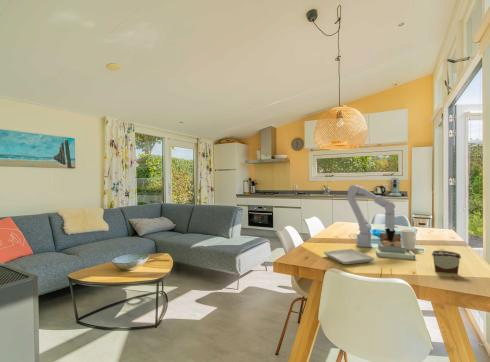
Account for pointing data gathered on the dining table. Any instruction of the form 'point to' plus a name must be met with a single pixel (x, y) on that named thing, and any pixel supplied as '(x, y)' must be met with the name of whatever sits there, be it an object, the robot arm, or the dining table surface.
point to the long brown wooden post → (385, 237)
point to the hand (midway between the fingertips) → (389, 239)
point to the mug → (408, 239)
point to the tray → (396, 255)
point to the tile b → (396, 244)
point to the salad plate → (349, 256)
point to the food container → (446, 262)
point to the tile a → (386, 243)
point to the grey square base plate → (391, 248)
